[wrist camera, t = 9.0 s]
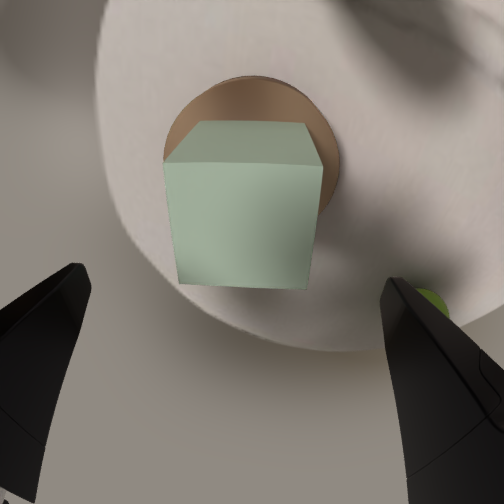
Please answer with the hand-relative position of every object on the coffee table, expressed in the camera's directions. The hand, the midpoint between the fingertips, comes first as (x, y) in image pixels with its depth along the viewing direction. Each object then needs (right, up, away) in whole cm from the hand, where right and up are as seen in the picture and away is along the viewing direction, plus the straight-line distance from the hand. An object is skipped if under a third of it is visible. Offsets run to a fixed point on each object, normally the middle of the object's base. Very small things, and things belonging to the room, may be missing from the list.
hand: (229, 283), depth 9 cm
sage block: (+1, +5, +7) cm, 9 cm away
